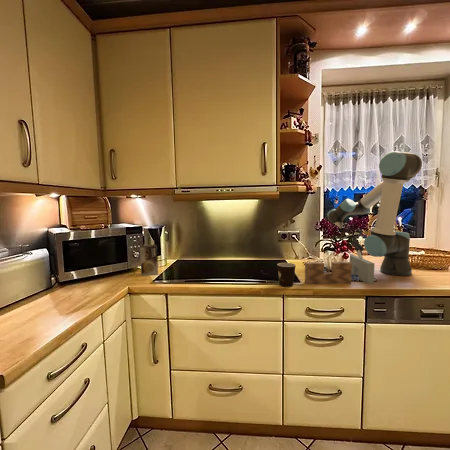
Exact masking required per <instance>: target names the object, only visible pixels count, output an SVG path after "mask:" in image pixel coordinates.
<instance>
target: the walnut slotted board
mask: <svg viewBox="0 0 450 450" xmlns="http://www.w3.org/2000/svg"><path fill="white" fill-rule="evenodd" d="M351 269H352V263H350V262H346V261H338V262H336V261H332V262H331V272H325V263H324V262H321V261H317V262H315V261H314V262H312V261H311V262H310V261H309V262H308V261H307V262H305V263H304V283H305V284H306V285H324V284H325V285H326V284H328V285H329V284H352V275H351Z"/></svg>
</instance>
